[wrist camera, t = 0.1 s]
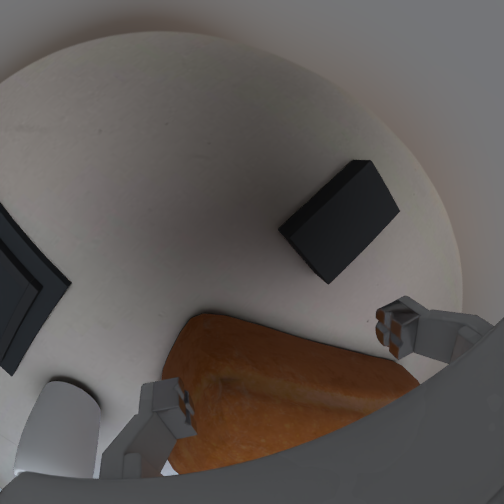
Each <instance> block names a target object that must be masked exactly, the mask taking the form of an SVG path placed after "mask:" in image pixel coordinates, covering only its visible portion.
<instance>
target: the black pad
mask: <svg viewBox="0 0 504 504" xmlns="http://www.w3.org/2000/svg"><path fill="white" fill-rule="evenodd" d="M399 212H400V210H399V208H398V207H397V205H396V203H395V201H394V199H393V197H392V195H391V194H390V192H389V190H388V188H387V186H386V185H385V183H384V181H383V179H382V178H381V176H380V174H379V173H378V171H377V169H376V168H375V166H374V164H373V163H372V161H371V160H352V161H351V162H350V163H349V164H348V165H347V166H346V167H345V168H344V169H343V170H342V171H340V172H339V173H338V174H337V175H336V176H335V177H334V178H333V179H332V180H331V181H330V182H329V183H328V184H326V185H325V186H324V187H323V188H322V189H321V190H320V191H319V192H318V193H317V194H316V195H315V196H314V197H312V198H311V199H310V200H309V201H308V202H307V203H306V204H305V205H304V206H303V207H302V208H301V209H300V210H299V211H297V212H296V213H295V214H294V215H293V216H292V217H291V218H290V219H289V220H288V221H287V222H286V223H285V224H283V225H282V226H281V227H280V228H279V229H278V231H279V232H280V233H281V234H282V235H283V236H284V237H285V239H286V240H287V241H288V242H289V243H290V244H291V246H292V247H293V248H294V249H295V250H296V251H297V253H298V254H299V255H300V256H301V257H302V258H303V260H304V261H305V262H306V263H307V264H308V266H309V267H310V268H311V269H312V270H313V271H314V273H315V274H317V275H318V276H319V277H320V278H321V279H322V280H323V281H325V282H326V283H327V284H330V283H331V282H332V281H333V280H334V279H335V278H336V277H337V276H338V275H339V274H340V273H341V272H342V271H343V270H344V269H345V268H346V267H347V266H348V265H349V264H350V263H351V262H352V261H353V260H354V259H355V258H356V257H357V256H358V255H359V254H360V253H361V252H362V251H363V250H364V249H365V248H366V247H367V246H368V245H369V244H370V243H371V242H372V241H373V240H374V239H375V238H376V237H377V235H378V234H379V233H380V232H381V231H382V230H383V229H384V228H385V227H386V226H387V225H388V224H389V223H390V222H391V220H392V219H393V218H394V217H395V216H396V215H397V214H398V213H399Z"/></svg>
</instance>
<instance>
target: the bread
mask: <svg viewBox="0 0 504 504" xmlns="http://www.w3.org/2000/svg"><path fill="white" fill-rule="evenodd" d="M175 377H180V378H181V379H182V381H183V383H184V390H186V391H188V392H189V394H190V396H191V398H192V401H193V404H194V408H195V414H194V416H193V418H194V419H195V421H196V426H197V434H198V435H195V436H191V437H186V438H181V439H176V440H177V442H176V444H175V445H174V447H173V449H172V451H171V453H170V455H169V457H168V461H169V463H170V464H171V466H172V468H173V469H174V470H175V471H176V472H177V473H178V474H179V475H180V474H187V473H193V472H199V471H205V470H211V469H216V468H221V467H225V466H230V465H234V464H238V463H242V462H246V461H250V460H254V459H257V458H261V457H264V456H268V455H271V454H274V453H277V452H281V451H284V450H287V449H290V448H292V447H295V446H298V445H301V444H304V443H306V442H309V441H311V440H314V439H317V438H319V437H321V436H324V435H326V434H329V433H331V432H333V431H336V430H338V429H340V428H342V427H345V426H347V425H349V424H351V423H353V422H355V421H357V420H359V419H361V418H363V417H365V416H367V415H369V414H371V413H373V412H375V411H377V410H379V409H380V408H382V407H384V406H386V405H388V404H389V403H391V402H393V401H395V400H396V399H398V398H400V397H401V396H403V395H405V394H406V393H408V392H409V391H411V390H413V389H414V388H416V387H417V386H419V385H420V384H419V382H418V380H416V379H415V378H414V377H413V376H412V375H411V374H410V373H409V372H408V371H407V370H406V369H405V368H404V367H403V366H401V365H399V364H397V363H395V362H393V361H391V360H386V359H381V358H377V357H373V356H369V355H364V354H360V353H356V352H352V351H348V350H344V349H340V348H336V347H332V346H328V345H324V344H320V343H316V342H312V341H309V340H306V339H302V338H299V337H296V336H292V335H289V334H286V333H283V332H280V331H277V330H273V329H270V328H267V327H264V326H261V325H257V324H253V323H250V322H246V321H243V320H239V319H236V318H232V317H229V316H225V315H214V314H201V315H198V316H196V317H193V318H191V319H190V320H189V322H188V323H187V324H186V326H185V327H184V328H183V329H182V331H181V332H180V334H179V336H178V338H177V340H176V342H175V344H174V346H173V347H172V349H171V351H170V353H169V355H168V357H167V360H166V363H165V365H164V368H163V373H162V379H161V380H165V379H170V378H175Z"/></svg>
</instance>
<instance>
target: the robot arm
mask: <svg viewBox="0 0 504 504" xmlns="http://www.w3.org/2000/svg"><path fill="white" fill-rule="evenodd" d="M376 318H377V319H378V320H379V321H378V323H377V325H376V335H377V338H378V340H379V342H380V343H381V344H382V345H383V346H387V347H389V352H390V353H392V354H393V355H394V356H395V357H396V358H397V359H398V360H399V359H401V358H403V357H405V356H407V355H408V354H410V353H412V352H414V353H417V354H420V355H423V356H426V357H429V358H432V359H435V360H438V361H442V362H445V363H448V364H449V365H448V366H446V367H445V368H444V369H442V370H441V371H439V372H438V373H437V374H435V375H434V376H432V377H431V378H429V379H428V380H426V381H425V382H423V383H422V384H420V385H419V386H417V387H416V388H414V389H413V390H411V391H409V392H408V393H406V394H405V395H403V396H401V397H400V398H398V399H396V400H395V401H393V402H391V403H389V404H388V405H386V406H384V407H382V408H380V409H379V410H377V411H375V412H373V413H371V414H369V415H367V416H365V417H363V418H361V419H359V420H357V421H355V422H353V423H351V424H349V425H347V426H345V427H342V428H340V429H338V430H336V431H333V432H331V433H329V434H326V435H324V436H321V437H319V438H317V439H314V440H311V441H309V442H306V443H304V444H301V445H298V446H295V447H292V448H290V449H287V450H284V451H281V452H277V453H274V454H271V455H268V456H264V457H261V458H257V459H254V460H250V461H246V462H242V463H238V464H234V465H230V466H225V467H221V468H216V469H211V470H205V471H199V472H193V473H187V474H180V475H171V476H163V475H162V474H161V473H160V472H161V470H162V468H163V467H164V465H165V463H166V461H167V459H168V457H169V455H170V453H171V451H172V449H173V447H174V445H175V444H176V442H177V440H176V439H181V438H186V437H191V436H195V435H198V434H197V426H196V421H195V419H194V418H193V416H194V414H195V408H194V404H193V401H192V398H191V396H190V394H189V392H188V391H186V390H184V383H183V381H182V379H181V378H180V377H175V378H170V379H165V380H160V381H155V382H150V383H145V384H143V385H142V386H141V394H140V403H139V413H138V414H137V415H134V417H133V418H132V419H131V420H130V421H129V423H128V424H127V425H126V426H125V427H124V429H123V430H122V431H121V432H120V433H119V435H118V436H117V437H116V438H115V439H114V440H113V442H112V443H111V444H110V445H109V446H108V448H107V449H106V450H105V451H104V452H103V453H102V459H101V467H100V475H99V479H92V478H76V477H65V476H56V475H48V474H42V473H37V472H31V471H24V472H22V473H20V474H19V475H18V476H16V477H15V478H14V479H13V480H12V481H11V482H10V483H9V484H8V485H6V486H5V487H4V488H3V489H2V491H1V492H0V504H504V318H503V319H502V320H501V321H500V322H499V323H497V324H496V325H495V326H493V325H491V324H490V323H488V322H487V321H485V320H484V319H482V318H480V317H479V316H477V315H471V314H463V313H455V312H447V311H440V310H430V311H429V310H428V309H426V308H425V307H423V306H422V305H420V304H419V303H417V302H416V301H414V300H413V299H411V298H410V297H408V296H403V297H401V298H399V299H397V300H396V301H394V302H392V303H389V304H387V305H385V306H383V307H381V308H379V309H377V311H376Z"/></svg>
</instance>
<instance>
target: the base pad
mask: <svg viewBox="0 0 504 504" xmlns="http://www.w3.org/2000/svg"><path fill="white" fill-rule="evenodd" d="M70 284H71V282H70V281H69V280H68V279H67V278H66V277H65V276H64V275H63V274H62V273H61V272H60V271H59V270H58V269H57V268H56V267H55V266H54V265H53V264H52V263H51V262H50V261H49V260H48V259H47V258H46V257H45V256H44V255H43V254H42V252H41V251H40V250H39V249H38V248H37V247H36V246H35V245H34V244H33V243H32V241H31V240H30V239H29V238H28V237H27V236H26V234H25V233H24V232H23V231H22V230H21V229H20V227H19V226H18V225H17V224H16V222H15V221H14V220H13V219H12V218H11V216H10V215H9V214H8V212H7V211H6V210H5V209H4V207H3V206H2V205H1V203H0V366H1V367H2V368H3V369H4V370H5V371H6V372H7V373H8V374H10V375H11V376H13V374H14V372H15V371H16V369H17V367H18V365H19V363H20V361H21V360H22V358H23V356H24V354H25V353H26V351H27V349H28V348H29V346H30V344H31V343H32V341H33V339H34V338H35V336H36V334H37V333H38V331H39V330H40V328H41V327H42V325H43V323H44V322H45V320H46V319H47V317H48V316H49V314H50V313H51V311H52V310H53V308H54V307H55V305H56V304H57V303H58V301H59V300H60V298H61V297H62V295H63V294H64V293H65V291H66V290H67V289H68V287H69V286H70Z"/></svg>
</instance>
